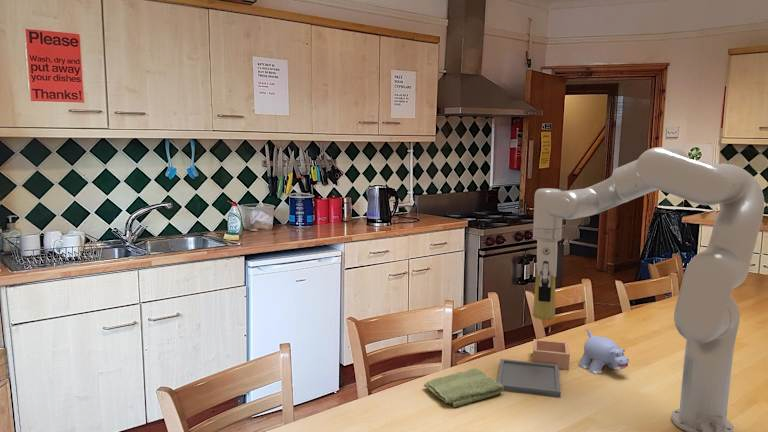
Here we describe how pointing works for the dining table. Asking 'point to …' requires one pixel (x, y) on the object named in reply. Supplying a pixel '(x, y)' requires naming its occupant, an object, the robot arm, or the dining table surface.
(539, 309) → the vase
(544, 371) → the tray
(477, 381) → the washcloth
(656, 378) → the dining table surface
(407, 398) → the dining table surface
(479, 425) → the dining table surface
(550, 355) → the pink square frame
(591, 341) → the hippopotamus toy
